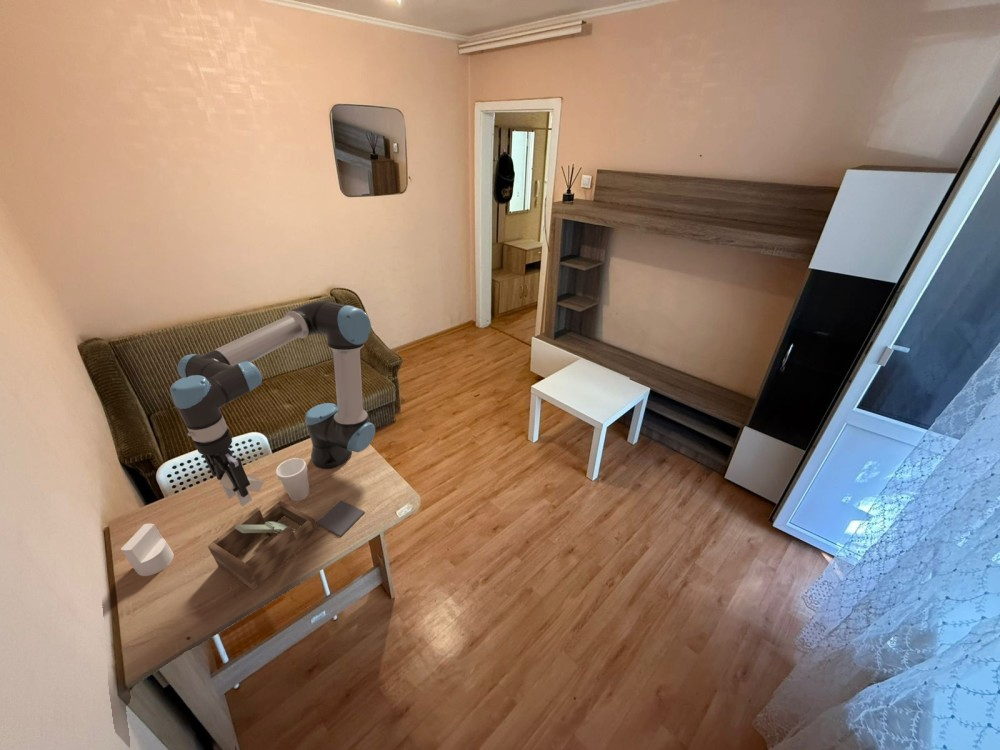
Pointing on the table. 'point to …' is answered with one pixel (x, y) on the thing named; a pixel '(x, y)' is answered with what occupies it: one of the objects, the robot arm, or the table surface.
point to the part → (254, 486)
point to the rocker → (263, 528)
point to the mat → (340, 518)
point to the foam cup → (294, 478)
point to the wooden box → (271, 553)
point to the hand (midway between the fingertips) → (239, 498)
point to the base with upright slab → (148, 551)
